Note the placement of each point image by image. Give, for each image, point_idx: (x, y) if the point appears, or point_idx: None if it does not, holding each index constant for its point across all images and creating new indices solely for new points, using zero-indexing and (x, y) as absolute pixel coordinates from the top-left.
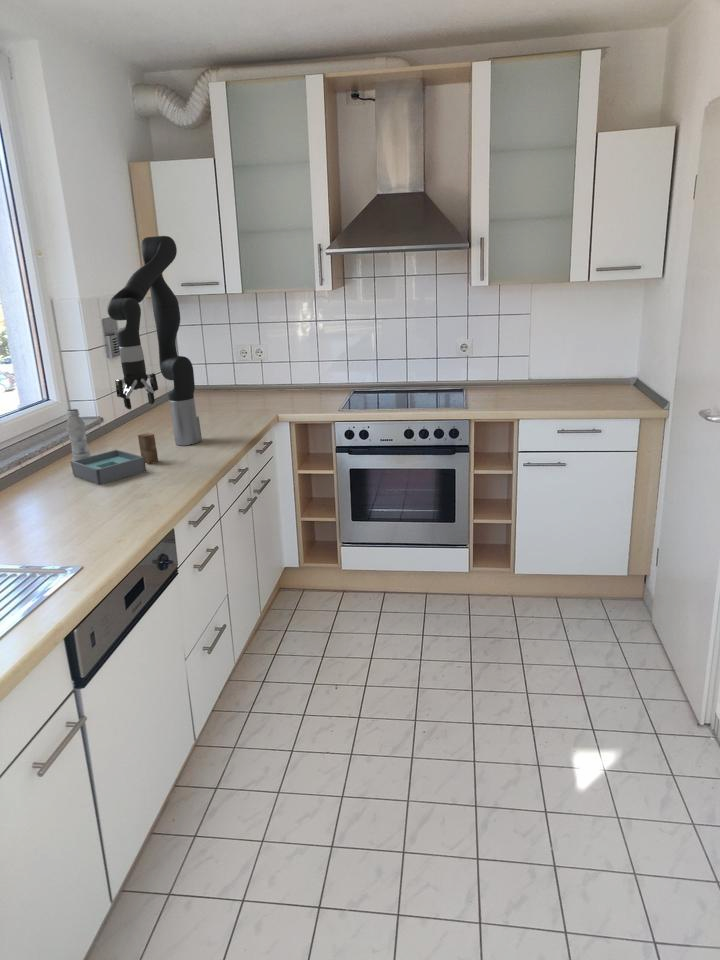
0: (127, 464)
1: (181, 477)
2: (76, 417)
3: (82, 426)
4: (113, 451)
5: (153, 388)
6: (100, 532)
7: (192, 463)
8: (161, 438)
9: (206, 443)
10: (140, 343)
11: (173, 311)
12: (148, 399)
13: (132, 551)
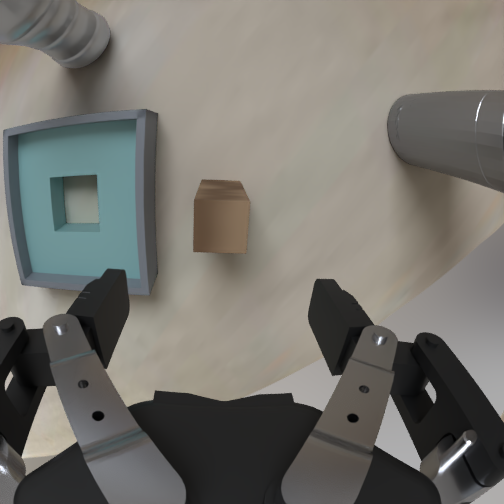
0: None
1: (187, 374)
2: None
3: (19, 34)
4: (127, 118)
5: (391, 391)
6: None
7: (273, 318)
8: (407, 18)
9: (426, 190)
10: None
11: None
12: (327, 295)
13: (55, 453)
